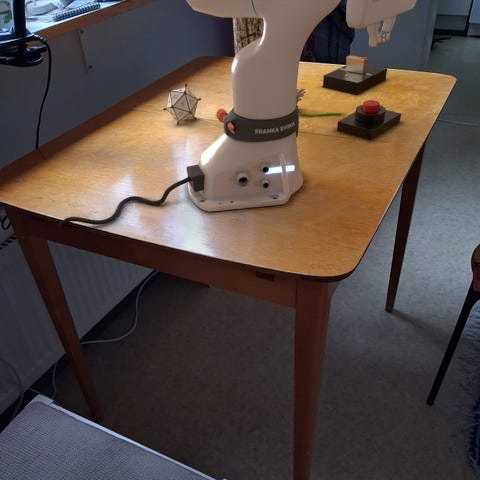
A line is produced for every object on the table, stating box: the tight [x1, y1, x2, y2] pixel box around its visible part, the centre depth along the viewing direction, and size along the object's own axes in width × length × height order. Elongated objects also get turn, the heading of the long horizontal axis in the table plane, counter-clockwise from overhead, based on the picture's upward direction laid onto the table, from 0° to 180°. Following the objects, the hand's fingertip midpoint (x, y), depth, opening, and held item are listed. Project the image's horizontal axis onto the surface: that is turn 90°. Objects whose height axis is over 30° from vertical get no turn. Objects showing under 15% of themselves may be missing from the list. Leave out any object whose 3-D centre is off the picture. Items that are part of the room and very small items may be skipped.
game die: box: [162, 82, 202, 126], centre depth 117 cm, size 9×8×10 cm
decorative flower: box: [296, 87, 342, 118], centre depth 117 cm, size 8×6×15 cm
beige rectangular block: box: [345, 54, 368, 74], centre depth 129 cm, size 6×2×4 cm, turn 46°
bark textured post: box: [232, 17, 264, 57], centre depth 107 cm, size 7×7×25 cm
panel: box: [322, 64, 388, 96], centre depth 131 cm, size 14×11×3 cm
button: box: [362, 99, 381, 113], centre depth 107 cm, size 4×4×2 cm
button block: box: [336, 104, 402, 141], centre depth 109 cm, size 12×9×4 cm
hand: (378, 43), depth 99 cm, fingers closed
